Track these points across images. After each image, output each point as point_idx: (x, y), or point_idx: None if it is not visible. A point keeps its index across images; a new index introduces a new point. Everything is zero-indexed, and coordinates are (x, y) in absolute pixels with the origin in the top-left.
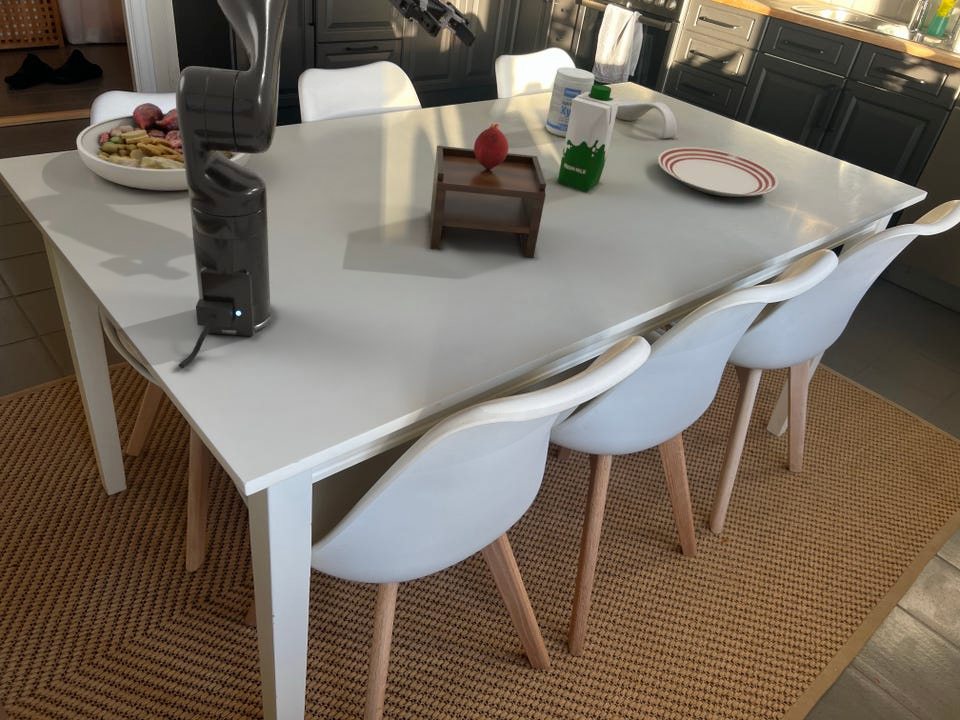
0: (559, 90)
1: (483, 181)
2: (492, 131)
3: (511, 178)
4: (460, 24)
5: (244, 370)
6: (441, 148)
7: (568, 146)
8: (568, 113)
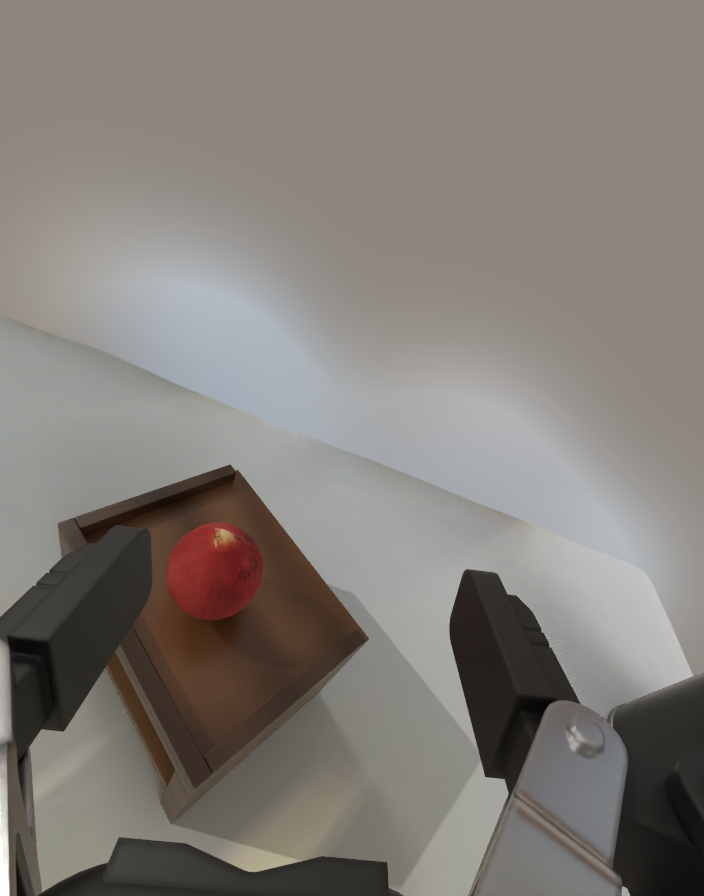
0: None
1: (282, 571)
2: (241, 539)
3: None
4: (57, 653)
5: (641, 661)
6: (212, 754)
7: None
8: None
